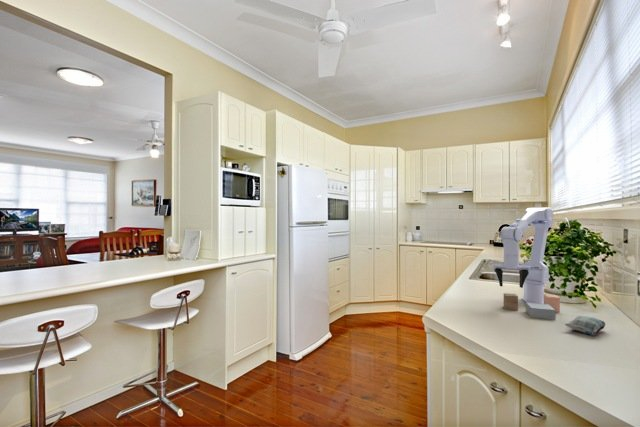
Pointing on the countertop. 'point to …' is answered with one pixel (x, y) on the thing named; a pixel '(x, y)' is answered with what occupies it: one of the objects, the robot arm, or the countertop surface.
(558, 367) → the countertop surface
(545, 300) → the terracotta block
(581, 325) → the packaged food
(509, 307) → the walnut block
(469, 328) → the countertop surface
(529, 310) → the slate base block
